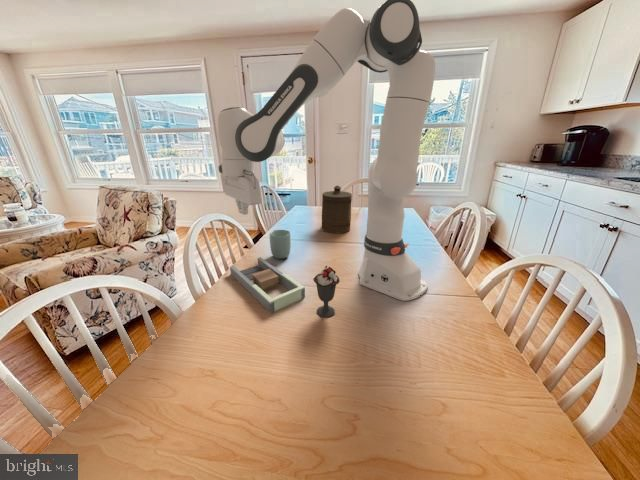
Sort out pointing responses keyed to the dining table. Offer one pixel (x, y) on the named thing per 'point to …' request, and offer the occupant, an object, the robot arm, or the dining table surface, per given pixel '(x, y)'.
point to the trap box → (269, 303)
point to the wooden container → (336, 211)
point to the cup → (280, 243)
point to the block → (266, 280)
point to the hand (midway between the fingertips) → (243, 213)
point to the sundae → (326, 290)
